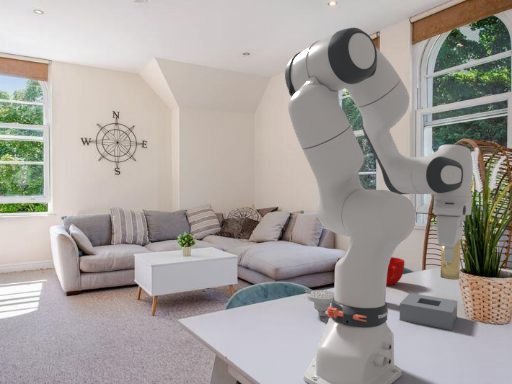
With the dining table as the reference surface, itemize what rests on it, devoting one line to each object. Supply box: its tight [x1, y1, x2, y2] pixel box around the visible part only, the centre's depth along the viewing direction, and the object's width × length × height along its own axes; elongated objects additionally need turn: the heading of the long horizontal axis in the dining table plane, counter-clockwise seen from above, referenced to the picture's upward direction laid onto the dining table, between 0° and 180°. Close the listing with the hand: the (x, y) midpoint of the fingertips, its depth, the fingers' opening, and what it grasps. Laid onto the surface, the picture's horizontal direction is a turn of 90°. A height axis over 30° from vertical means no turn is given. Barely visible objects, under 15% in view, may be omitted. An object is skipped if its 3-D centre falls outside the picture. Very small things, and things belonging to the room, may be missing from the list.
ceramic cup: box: [386, 256, 405, 286], centre depth 159 cm, size 13×17×10 cm
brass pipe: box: [440, 239, 462, 281], centre depth 102 cm, size 4×4×10 cm
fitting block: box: [399, 292, 458, 331], centre depth 118 cm, size 14×14×5 cm
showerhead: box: [305, 289, 334, 317], centre depth 119 cm, size 9×7×10 cm
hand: (450, 260), depth 102 cm, fingers closed on brass pipe, 4 cm apart
